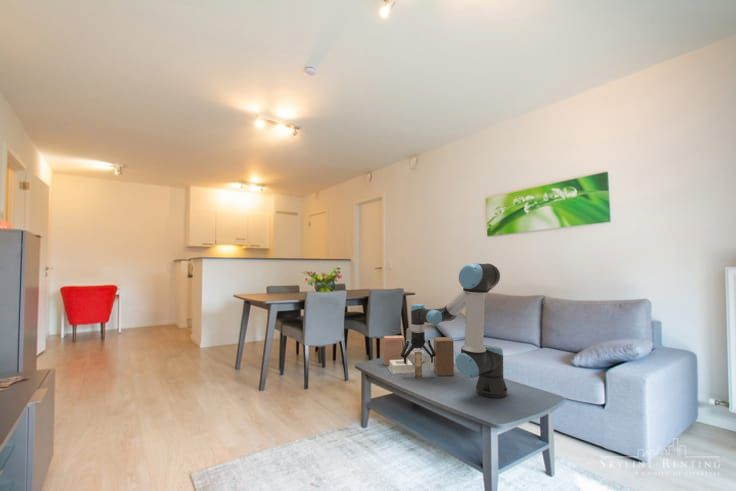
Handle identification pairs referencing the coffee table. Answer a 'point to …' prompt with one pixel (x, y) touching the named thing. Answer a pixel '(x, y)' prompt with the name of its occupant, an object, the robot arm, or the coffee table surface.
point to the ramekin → (412, 355)
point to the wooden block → (444, 356)
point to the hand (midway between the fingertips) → (418, 369)
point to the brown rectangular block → (392, 348)
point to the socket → (400, 367)
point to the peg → (418, 365)
